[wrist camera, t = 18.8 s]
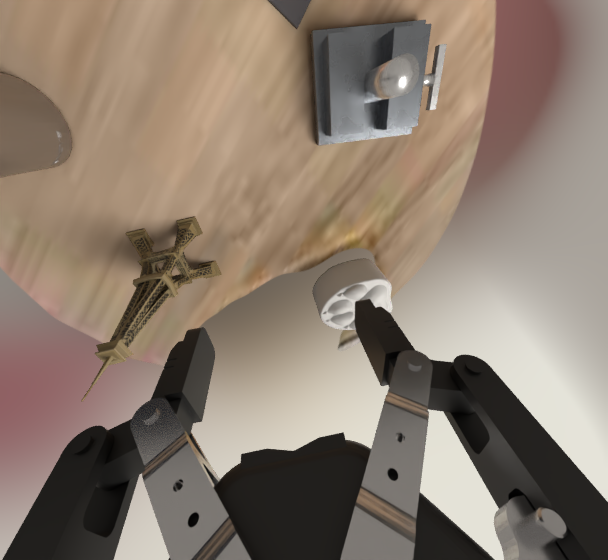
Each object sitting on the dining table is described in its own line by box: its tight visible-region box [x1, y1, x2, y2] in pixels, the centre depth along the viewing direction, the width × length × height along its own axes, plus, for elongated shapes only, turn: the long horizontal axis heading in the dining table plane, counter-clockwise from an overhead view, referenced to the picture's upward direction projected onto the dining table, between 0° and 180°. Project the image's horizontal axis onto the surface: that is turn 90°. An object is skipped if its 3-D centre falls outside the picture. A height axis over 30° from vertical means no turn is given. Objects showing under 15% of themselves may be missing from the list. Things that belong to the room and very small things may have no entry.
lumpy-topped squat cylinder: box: [313, 259, 392, 330], centre depth 44 cm, size 10×13×9 cm
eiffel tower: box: [82, 217, 221, 401], centre depth 29 cm, size 11×11×25 cm
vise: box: [310, 20, 447, 145], centre depth 26 cm, size 15×11×10 cm
